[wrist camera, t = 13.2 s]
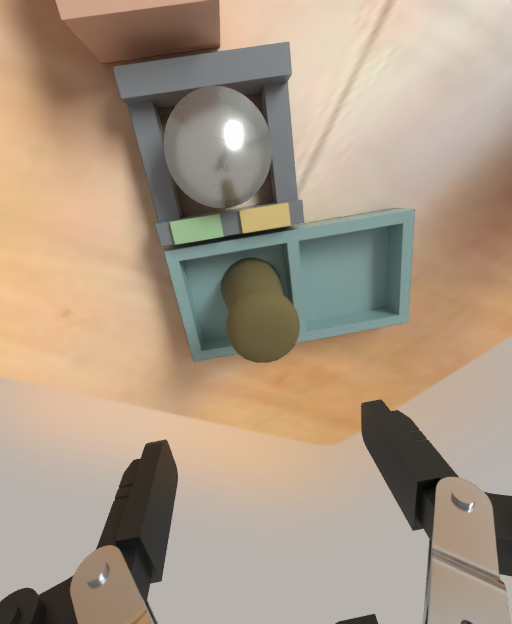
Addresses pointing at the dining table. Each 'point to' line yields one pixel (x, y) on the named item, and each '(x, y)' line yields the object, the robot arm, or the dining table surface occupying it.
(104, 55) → the cup
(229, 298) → the olive gourd
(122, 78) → the checker cradle
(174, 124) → the silver domed disc
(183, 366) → the dining table surface
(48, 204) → the dining table surface
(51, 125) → the dining table surface
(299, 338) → the teal divided tray
